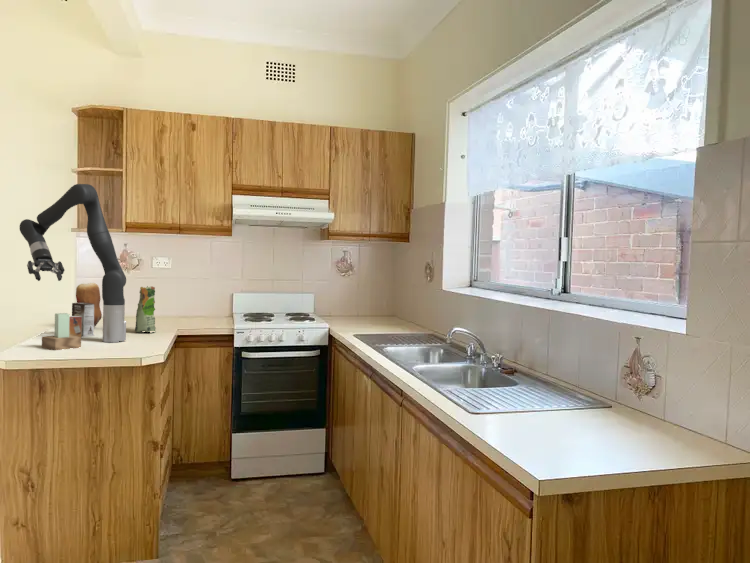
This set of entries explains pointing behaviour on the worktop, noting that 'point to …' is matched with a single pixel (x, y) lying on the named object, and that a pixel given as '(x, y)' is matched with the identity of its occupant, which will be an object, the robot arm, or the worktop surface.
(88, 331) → the coffee box
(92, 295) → the butternut squash
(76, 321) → the small box
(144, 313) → the pouch
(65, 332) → the sage green pillar
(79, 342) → the riser
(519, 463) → the worktop surface
